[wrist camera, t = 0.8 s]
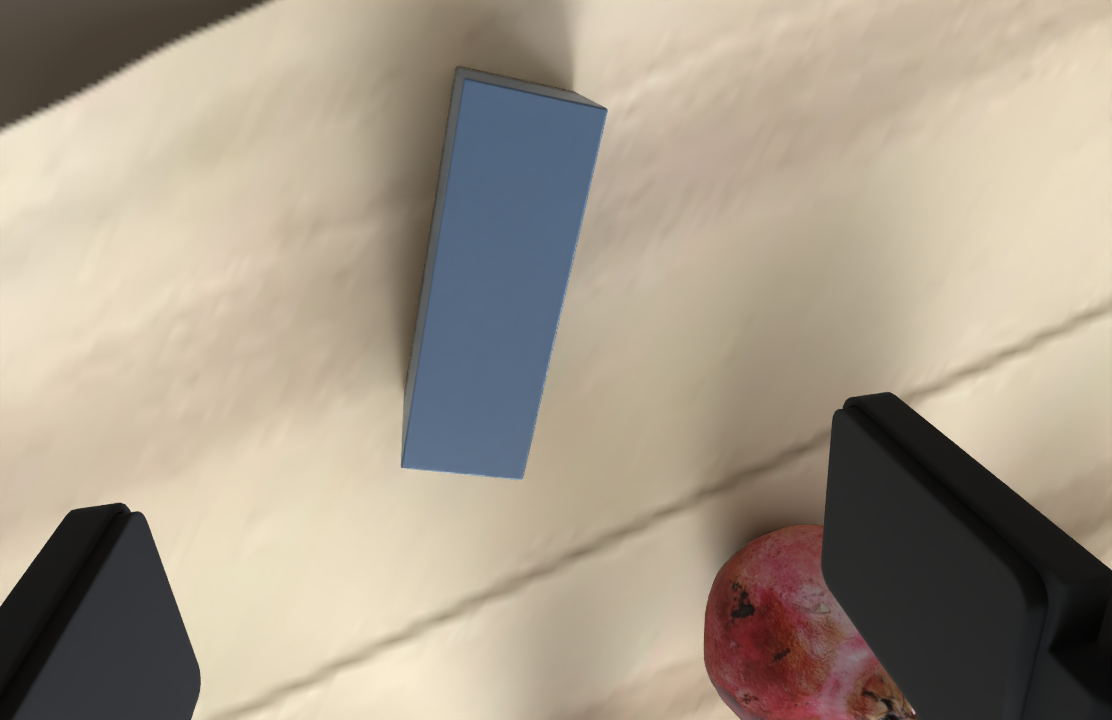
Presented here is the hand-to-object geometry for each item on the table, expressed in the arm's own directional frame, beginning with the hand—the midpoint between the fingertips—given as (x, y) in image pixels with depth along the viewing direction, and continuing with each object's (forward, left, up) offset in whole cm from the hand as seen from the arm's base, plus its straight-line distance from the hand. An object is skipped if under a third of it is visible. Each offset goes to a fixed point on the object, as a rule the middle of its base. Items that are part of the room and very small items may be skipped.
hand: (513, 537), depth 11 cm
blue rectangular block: (+1, -1, -18) cm, 18 cm away
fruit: (+17, -14, -18) cm, 29 cm away
